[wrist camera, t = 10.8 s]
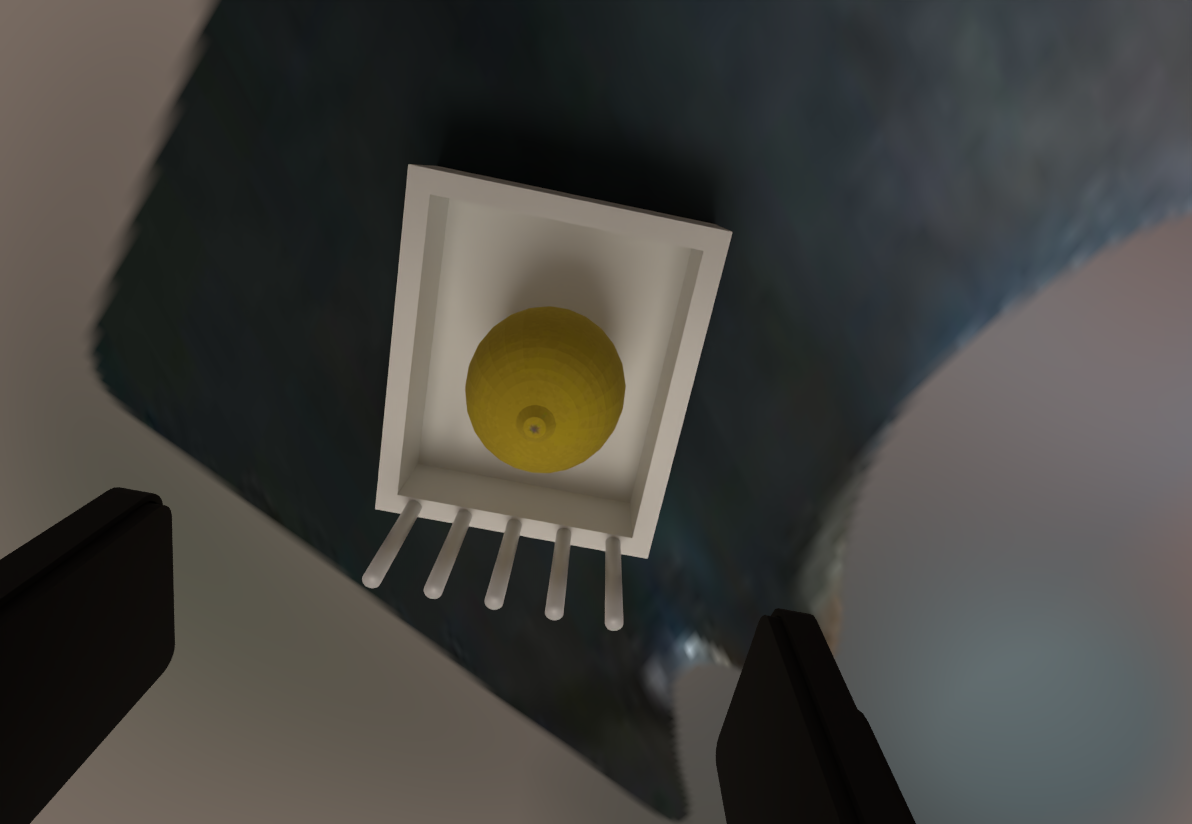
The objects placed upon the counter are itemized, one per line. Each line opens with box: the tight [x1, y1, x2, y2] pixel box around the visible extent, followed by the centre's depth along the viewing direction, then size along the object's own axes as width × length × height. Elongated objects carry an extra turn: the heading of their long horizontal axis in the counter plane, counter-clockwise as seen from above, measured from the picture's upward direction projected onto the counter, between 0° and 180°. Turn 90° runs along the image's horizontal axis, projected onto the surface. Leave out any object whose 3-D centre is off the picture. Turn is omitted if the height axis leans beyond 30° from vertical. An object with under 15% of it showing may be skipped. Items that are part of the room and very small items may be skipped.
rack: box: [362, 164, 732, 631], centre depth 24 cm, size 13×11×9 cm
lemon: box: [465, 306, 626, 473], centre depth 23 cm, size 6×6×8 cm
